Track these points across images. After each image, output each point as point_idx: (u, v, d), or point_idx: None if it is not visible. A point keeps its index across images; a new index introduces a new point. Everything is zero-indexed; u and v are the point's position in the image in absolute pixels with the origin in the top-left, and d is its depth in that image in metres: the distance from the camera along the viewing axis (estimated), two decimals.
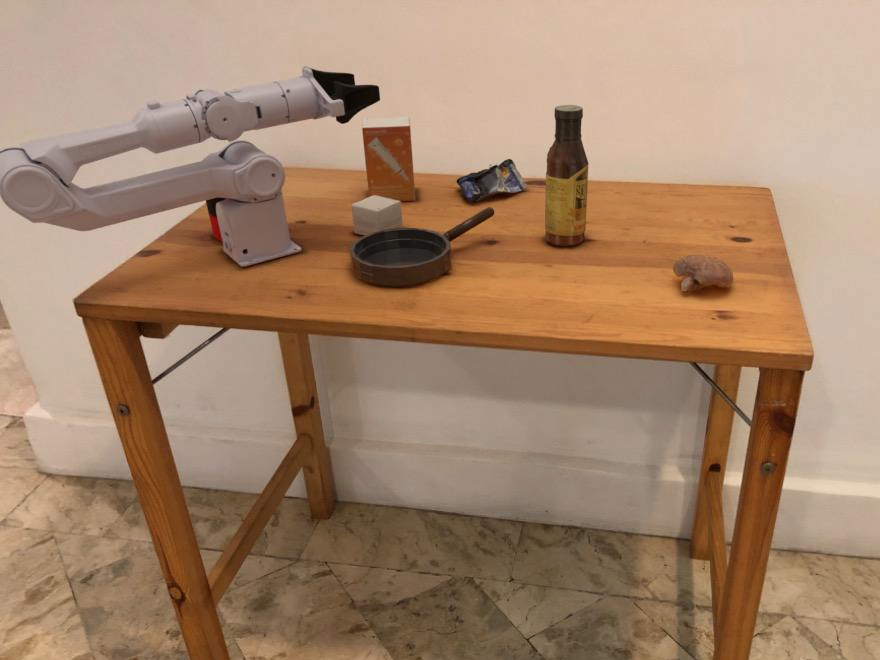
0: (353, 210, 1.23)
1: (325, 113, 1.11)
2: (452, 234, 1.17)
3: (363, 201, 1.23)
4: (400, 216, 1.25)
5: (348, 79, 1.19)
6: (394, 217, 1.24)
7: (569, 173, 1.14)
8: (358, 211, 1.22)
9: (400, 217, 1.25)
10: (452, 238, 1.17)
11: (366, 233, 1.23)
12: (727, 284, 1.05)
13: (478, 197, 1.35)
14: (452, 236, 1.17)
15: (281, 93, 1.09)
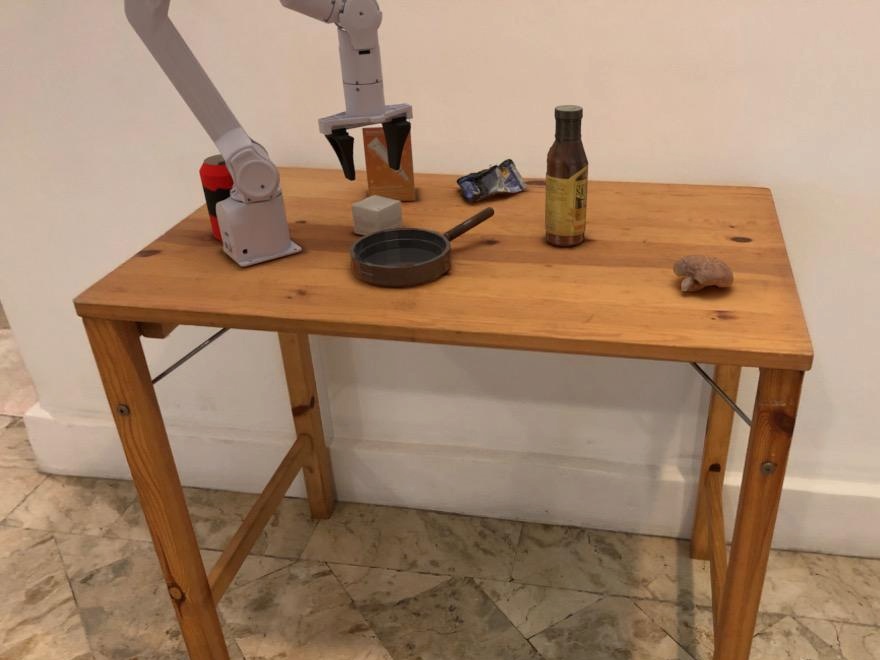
0: (353, 210, 1.23)
1: (333, 116, 1.14)
2: (452, 234, 1.17)
3: (363, 201, 1.23)
4: (400, 216, 1.25)
5: (393, 163, 1.22)
6: (394, 217, 1.24)
7: (569, 173, 1.14)
8: (358, 211, 1.22)
9: (400, 217, 1.25)
10: (452, 238, 1.17)
11: (366, 233, 1.23)
12: (727, 284, 1.05)
13: (478, 197, 1.35)
14: (452, 236, 1.17)
15: (378, 79, 1.12)
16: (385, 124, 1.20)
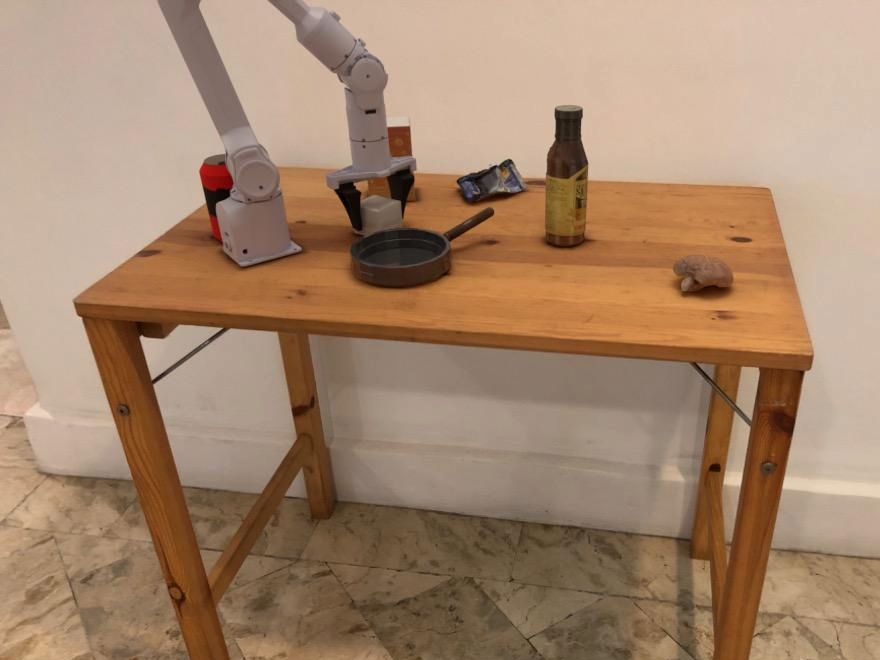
0: None
1: (340, 171, 1.18)
2: (452, 234, 1.17)
3: (363, 201, 1.23)
4: (400, 216, 1.25)
5: None
6: (394, 217, 1.24)
7: (569, 173, 1.14)
8: None
9: (400, 217, 1.25)
10: (452, 238, 1.17)
11: (366, 233, 1.23)
12: (727, 284, 1.05)
13: (478, 197, 1.35)
14: (452, 236, 1.17)
15: (384, 136, 1.16)
16: (389, 176, 1.24)
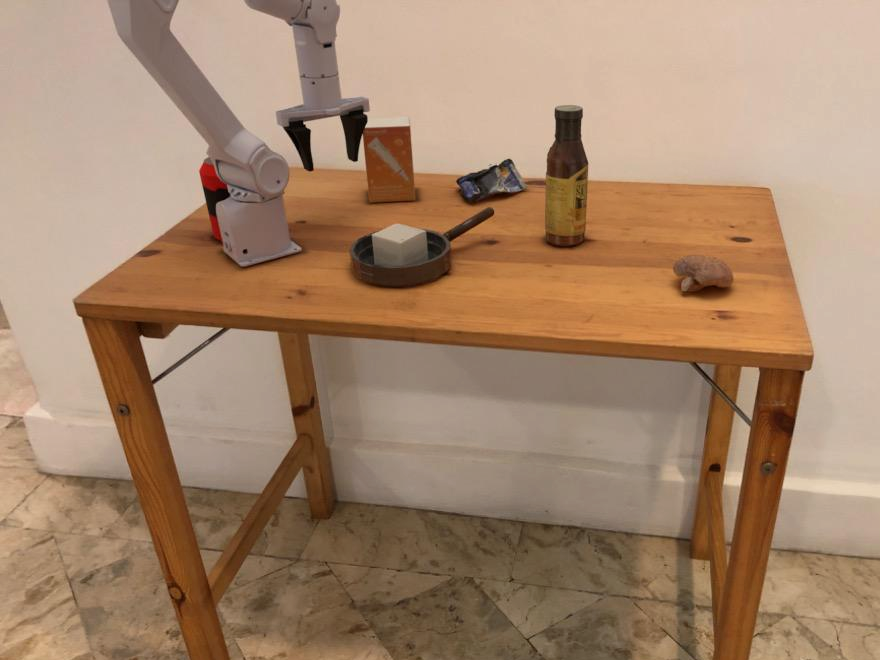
0: (374, 241, 1.11)
1: (291, 109, 1.18)
2: (452, 234, 1.17)
3: (384, 231, 1.12)
4: (425, 247, 1.13)
5: (351, 154, 1.25)
6: (418, 249, 1.12)
7: (569, 173, 1.14)
8: (379, 242, 1.11)
9: (425, 248, 1.13)
10: (452, 238, 1.17)
11: None
12: (727, 284, 1.05)
13: (478, 197, 1.35)
14: (452, 236, 1.17)
15: (337, 71, 1.17)
16: (343, 117, 1.24)
